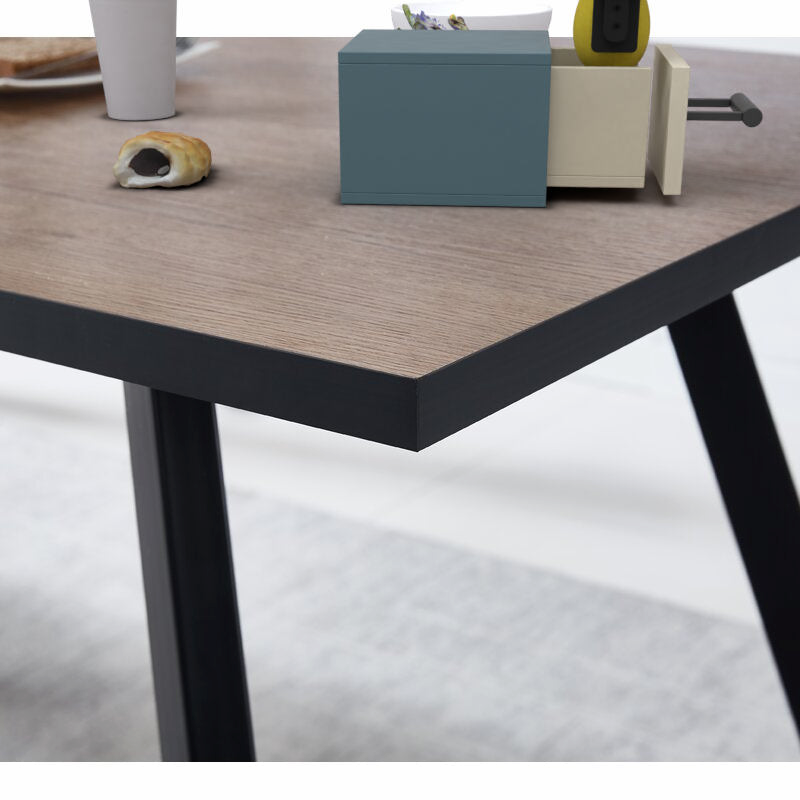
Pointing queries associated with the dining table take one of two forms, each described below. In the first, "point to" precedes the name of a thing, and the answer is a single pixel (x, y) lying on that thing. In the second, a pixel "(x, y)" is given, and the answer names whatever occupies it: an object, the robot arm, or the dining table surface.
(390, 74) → the cabinet
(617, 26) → the robot arm
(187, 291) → the dining table surface
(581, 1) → the lemon
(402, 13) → the bowl
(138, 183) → the pastry
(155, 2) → the coffee cup
